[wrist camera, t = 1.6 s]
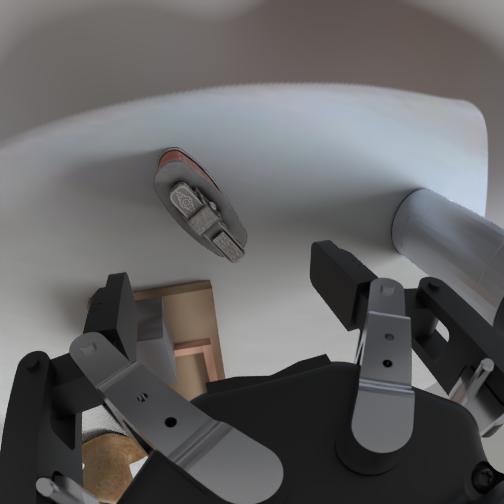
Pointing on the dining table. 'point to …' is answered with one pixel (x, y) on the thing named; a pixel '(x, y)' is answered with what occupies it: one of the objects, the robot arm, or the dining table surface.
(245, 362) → the dining table surface
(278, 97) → the dining table surface
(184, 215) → the lighter
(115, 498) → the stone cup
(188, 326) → the rail
